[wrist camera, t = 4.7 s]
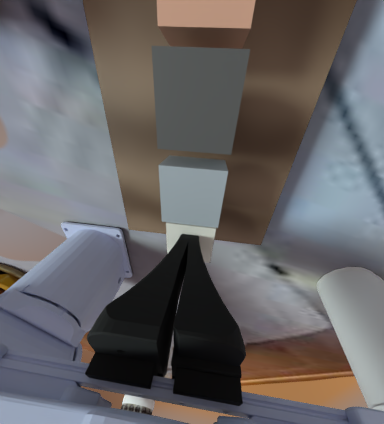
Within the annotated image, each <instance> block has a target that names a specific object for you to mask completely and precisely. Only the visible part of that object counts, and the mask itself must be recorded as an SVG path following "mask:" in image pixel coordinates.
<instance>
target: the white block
mask: <svg viewBox="0 0 384 424" xmlns="http://www.w3.org/2000/svg"><path fill="white" fill-rule="evenodd" d="M215 232H216V228H214V227H205V226H197V225H188V224H179V223H170V222H166V236H167V254H168V253H169V252H170V250H171V249H172V248H173V246H174V245H175V243H176V242H177V240H178V239H179V237H180V235H181V234H189V235H197V236H199V242H200V248H201V252H202V256H203V260H204V262H205V263H210V260H211V255H212V249H213V243H214V237H215Z"/></svg>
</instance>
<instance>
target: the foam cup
mask: <svg viewBox="0 0 384 424" xmlns="http://www.w3.org/2000/svg"><path fill="white" fill-rule="evenodd" d="M317 290H318V291H319V295H320V298H321V300H322V302H323V304H324V307H325V309H326V311H327V314H328V316H329V318H330V320H331V323H332V325H333V327H334V330H335V332H336V334H337V337H338V339H339V341H340V343H341V346H342V348H343V350H344V353H345V355H346V357H347V360H348V362H349V364H350V366H351V369H352V371H353V373H354V376H355V378H356V380H357V382H358V385H359V387H360V389H361V392H362V394H363V396H364V399H365V401H366V403H367V405H368V408H369V409H375V410H381V411H384V280H383V279H381V278H380V277H379V276H377V275H375V274H374V273H373V272H372V271H370V270H368V269H365V268H362V267H345V268H341V269H337V270H333V271H331V272H329V273H327V274H325V275H323V276H322V277H321V279H320V280H319V281H318V282H317Z"/></svg>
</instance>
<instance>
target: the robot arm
mask: <svg viewBox="0 0 384 424" xmlns="http://www.w3.org/2000/svg"><path fill="white" fill-rule="evenodd" d="M61 227H62V229H63V231H64V233H65V235H66V237H67V240H65V241H64V242H63V243H62V244H61V245H60V246H58V247H57V248H56V249H55V250H54V251H52V252H51V253H50V254H49V255H48V256H46V257H45V258H44V259H43V260H42V261H40V262H39V263H38V264H37V265H36V266H35V267H33V268H32V269H31V270H30V271H29V272H27V273H26V274H25V275H24V276H23V277H21V278H20V279H19V280H18V281H17V282H16V283H14V284H13V285H12V286H11V287H10V288H8V289H7V290H6V291H5V292H4V293H2V294H0V424H188V423H184V422H180V421H176V420H171V419H166V418H162V417H158V416H153V415H148V414H143V413H138V412H132V411H127V410H121V409H115V408H111V402H109V401H107V400H105V399H103V398H102V397H101V395H100V394H99V393H97V392H94V391H91V390H87V389H84V388H81V386H84V387H89V388H94V389H100V390H105V391H110V392H115V393H121V394H125V395H131V396H136V397H141V398H146V399H151V400H156V401H162V402H167V403H172V404H177V405H182V406H187V407H193V408H198V409H204V410H208V411H214V412H218V413H224V414H229V415H234V416H240V417H226V416H219V417H218V418H217V422H215V423H214V424H384V411H381V410H375V409H369V408H364V407H349V408H347V409H345V410H340V409H335V408H329V407H324V406H318V405H312V404H307V403H302V402H296V401H291V400H285V399H280V398H274V397H268V396H263V395H257V394H252V393H246V392H242V391H241V382H240V378H241V367H240V365H241V363H242V362H243V360H244V359H245V356H246V352H245V346H244V342H243V339H242V335H241V332H240V329H239V327H238V324H237V323H236V321H235V320H234V319H233V317H232V316H231V314H230V312H229V311H228V309H227V308H226V306H225V304H224V303H223V301H222V299H221V298H220V296H219V294H218V292H217V290H216V288H215V286H214V284H213V282H212V280H211V278H210V276H209V273H208V271H207V268H206V265H205V263H204V260H203V256H202V252H201V248H200V242H199V236H197V235H189V234H181V235H180V237H179V239H178V240H177V242H176V243H175V245H174V246H173V248H172V249H171V250H170V252H169V253H168V254H167V255H166V256H165V258H164V259H163V260H162V261H161V262H160V263H159V264H158V265H157V266H156V267H155V268H154V269H153V270H152V271H151V272H150V273H149V274H148V275H147V276H146V277H145V278H143V279H142V280H141V281H140V282H139V283H137V284H136V285H135V286H134V287H132V288H131V289H130V290H128V291H127V292H126V293H124V294H123V295H121V296H120V297H118V298H117V299H115V300H114V301H113V299H114V297H115V295H116V293H117V291H118V290H119V288H120V286H121V284H122V282H123V280H124V279H125V277H127V278H131V277H132V270H131V266H130V262H129V257H128V253H127V249H126V244H125V240H124V236H123V232H122V230H121V229H120V228H114V227H105V226H97V225H88V224H80V223H71V222H63V223H62V224H61ZM184 276H185V277H184ZM183 280H184V282H183ZM182 283H183V286H182ZM181 287H182V291H181ZM180 291H181V296H180V300H179V295H180ZM178 300H179V304H178ZM177 306H178V309H177ZM176 311H177V313H176ZM88 331H90V332H89V334H88V336H87V340H88V342H89V344H90V345H91V347H92V348H93V349H94V351H95V354H94V356H93V358H92V360H91V362H90V364H88V363H83V362H81V357H82V346H81V344H80V341H81V339H82V338H83V336H84V334H85V333H86V332H88ZM173 335H174V348H173V354H172V359H171V366H172V379H170V378H165V375H166V374H167V368H168V361H169V355H170V348H171V342H172V336H173ZM241 417H244V418H241ZM248 418H249V419H248Z"/></svg>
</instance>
